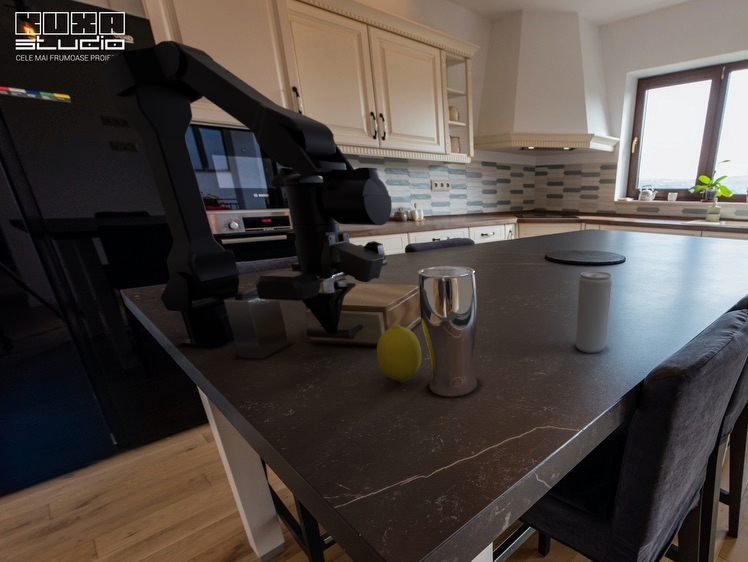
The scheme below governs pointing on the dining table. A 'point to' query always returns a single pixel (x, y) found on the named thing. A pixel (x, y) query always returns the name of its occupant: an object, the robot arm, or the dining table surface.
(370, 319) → the drawer
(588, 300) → the beverage can
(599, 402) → the dining table surface
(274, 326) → the tall upright grey box
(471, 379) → the beer glass
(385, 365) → the lemon
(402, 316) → the cabinet
